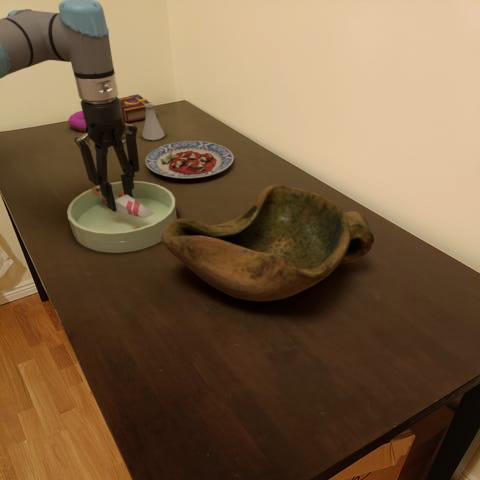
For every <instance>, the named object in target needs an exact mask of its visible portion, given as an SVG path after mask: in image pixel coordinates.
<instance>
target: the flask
mask: <svg viewBox="0 0 480 480" xmlns="http://www.w3.org/2000/svg"><path fill="white" fill-rule="evenodd" d="M144 107H145V109H146V119H144V124H143V129H142V133H141V134H142V135H141V137H142V138H143V139H145V140H149V141H156V140H160V139H163V138H164V137H165V136H166V134H165V131H164V130H163V128H162V126H161V124H160V122H159V120H158V117H157V115H156V111H155V107H156V104H155V103H152V102H151V103H150V102H149V103H148V104H145V105H144Z"/></svg>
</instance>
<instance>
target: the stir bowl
mask: <svg viewBox="0 0 480 480" xmlns="http://www.w3.org/2000/svg"><path fill="white" fill-rule="evenodd" d="M133 181H134V189H132V194H133V199H135V200H136V201H137V202H139V203H140V204H142V205H143V206H145V207H146V208H147V209H149V210H150V211H152V212H153V213H155V214H153V215H151V216H149V217H147V218H141V217H137V216H133V215H130V214H126V213H122V212H118V211H115V212H113V211H112V210H111V209H109V208H108V205H105V204H104V203H103V202H102V200H101V197H99V196H97V195H95V194H93V193H92V188H90V189H88V190H85V191H83V192H82V193H80V194H79V195H77V196H76V197H75V198H74V199H73V200H72V201H71V202H70V203H69V206H68V208H67V210H66V215H67V218H68V221H69V225H70V228H71V231H72V235H73V236H74V239H75V240H76V241H77V242H78V243H79V244H81V245H82V246H83V247H85V248H87V249H89V250H93V251H96V252H101V253H111V254H113V253H114V254H117V253H120V254H123V253H130V252H137V251H140V250H144V249H147V248H150V247H152V246H155V245H157V244H159V243H161V242H162V239H161V237H162V232H163V230H164V229H165V227H166V226H167V225H168V224H169V223H170V222H172V221H174V220H176V219H178V214H177V213H178V212H177V203H176V198H175V196H174V194H173V192H172V191H170V190H169V189H167V188H166V187H164V186H161V185H159V184H156V183H153V182H148V181H142V180H140V181H139V180H133ZM109 183H110V184H111V186H112V190H113V195H115V196H118V195H119V193H120V192H121V191H123V185H122V180H120V181H114V182H109ZM96 187H98V188H100V186H99V185H96ZM115 205H116V204H115ZM116 210H117V206H116ZM138 226H139V227H141V228H137V229H134V228H135V227H138Z"/></svg>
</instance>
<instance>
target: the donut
mask: <svg viewBox="0 0 480 480" xmlns="http://www.w3.org/2000/svg"><path fill="white" fill-rule="evenodd" d="M67 124H68V125H69V126H70V128H71V129H73V130H76V131H79V132H83V133H85V129H86V123H85V120H84V116H83V111H82V110H79V111H77V112H74V113H73V114H71V115H70V116H69V118H68V121H67Z"/></svg>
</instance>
